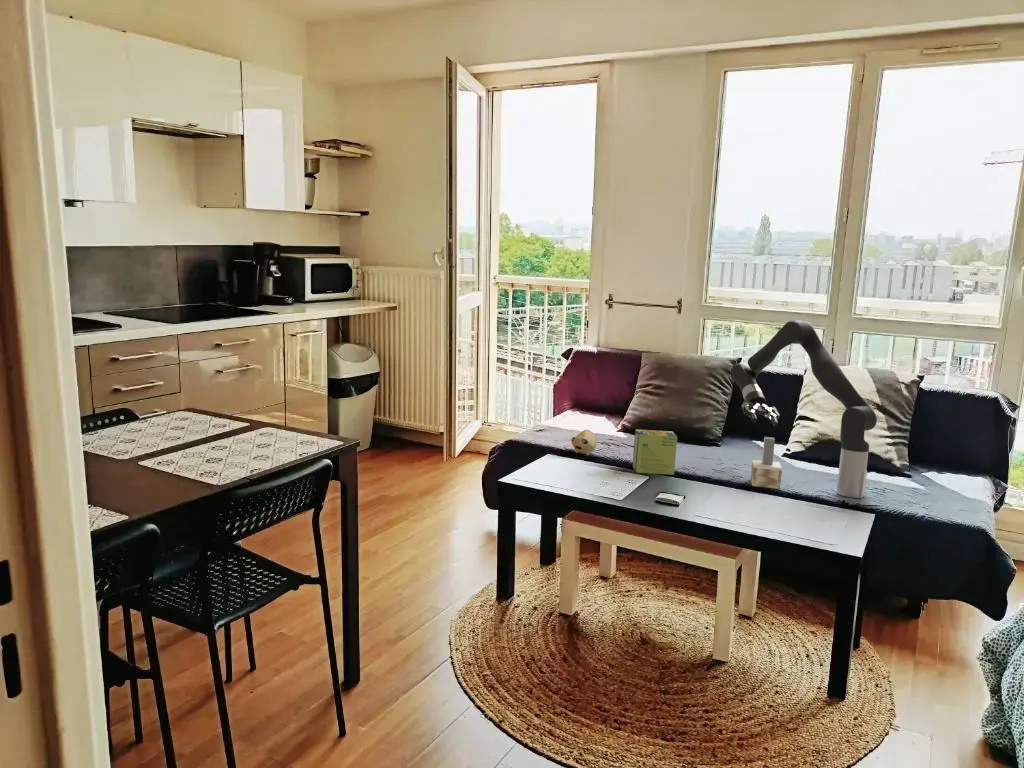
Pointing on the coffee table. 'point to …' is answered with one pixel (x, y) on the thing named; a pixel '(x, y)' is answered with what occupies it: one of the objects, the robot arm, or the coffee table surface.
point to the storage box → (765, 477)
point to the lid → (767, 456)
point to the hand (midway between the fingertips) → (765, 422)
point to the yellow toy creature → (584, 442)
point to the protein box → (654, 452)
